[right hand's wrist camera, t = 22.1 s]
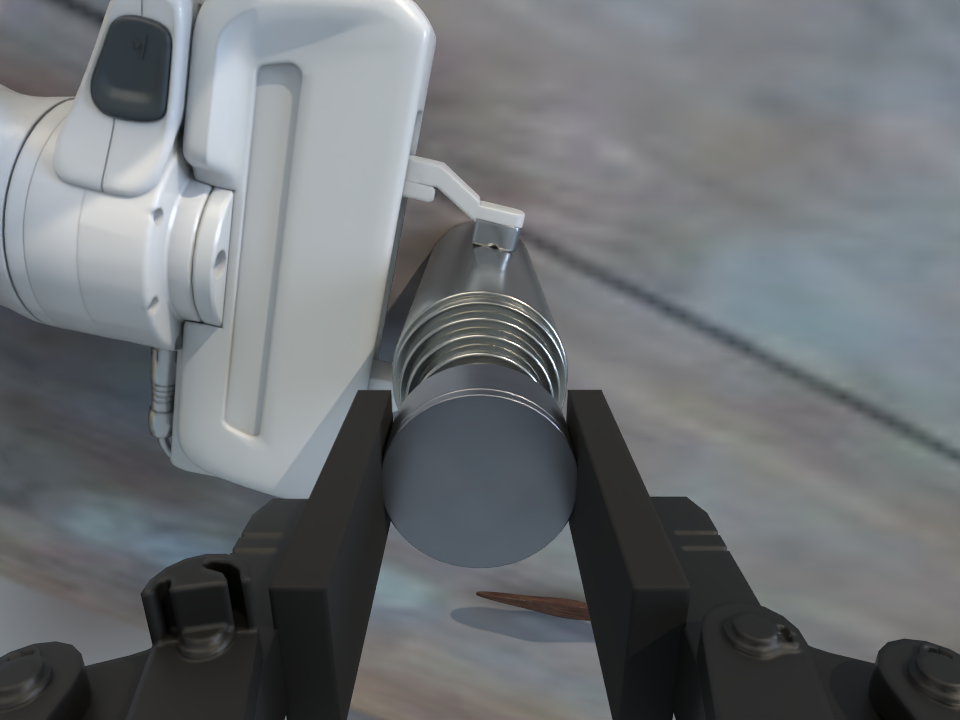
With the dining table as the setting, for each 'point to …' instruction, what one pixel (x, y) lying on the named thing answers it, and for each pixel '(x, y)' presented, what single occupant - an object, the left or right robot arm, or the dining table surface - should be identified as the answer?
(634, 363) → the dining table surface
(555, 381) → the bottle
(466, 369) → the cap
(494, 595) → the fork
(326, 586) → the right robot arm
